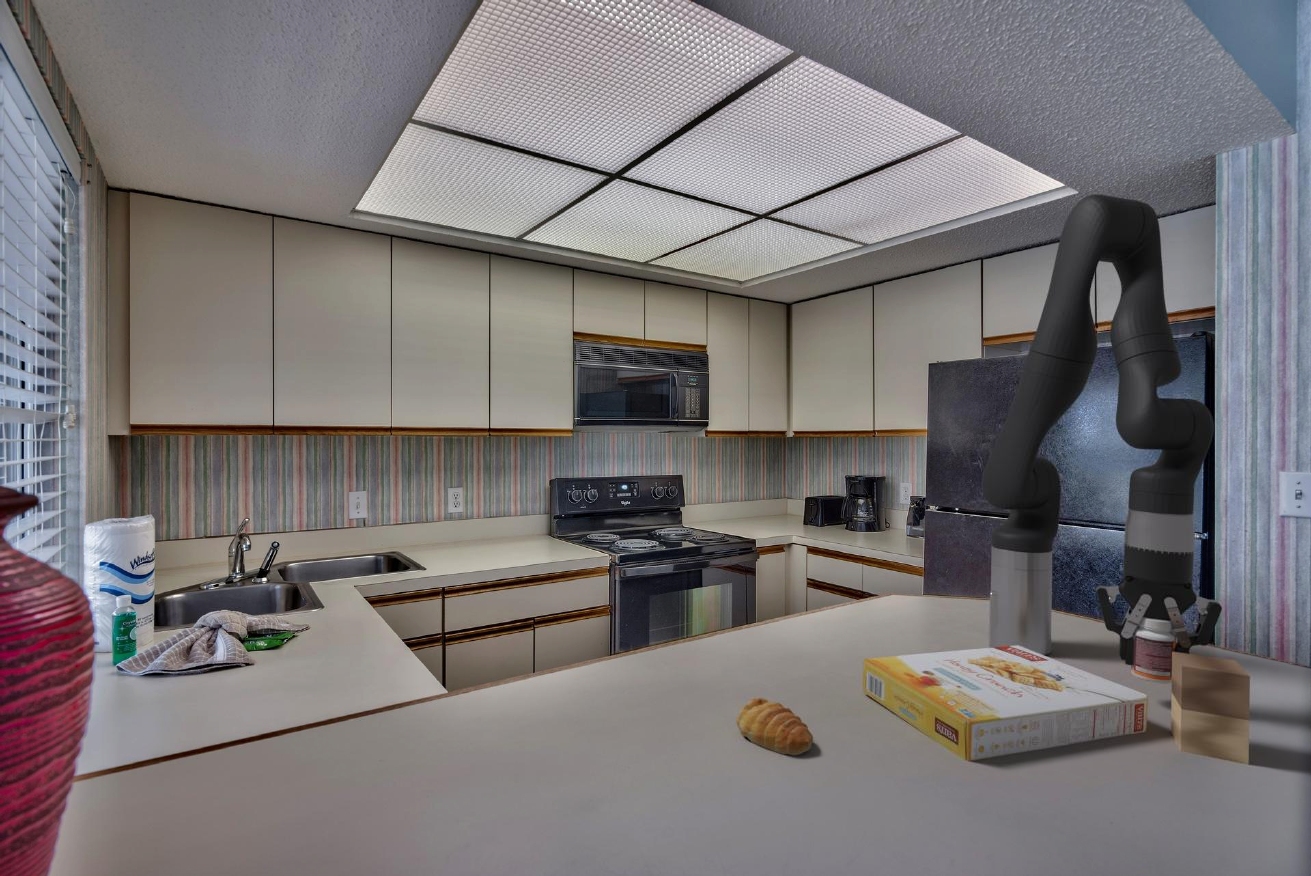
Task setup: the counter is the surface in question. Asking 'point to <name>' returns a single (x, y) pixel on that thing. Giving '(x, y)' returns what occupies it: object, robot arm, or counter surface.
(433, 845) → the counter surface
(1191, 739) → the maple block
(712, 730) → the counter surface
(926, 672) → the cereal box
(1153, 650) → the pill bottle
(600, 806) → the counter surface
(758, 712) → the pastry
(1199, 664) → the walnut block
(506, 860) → the counter surface
